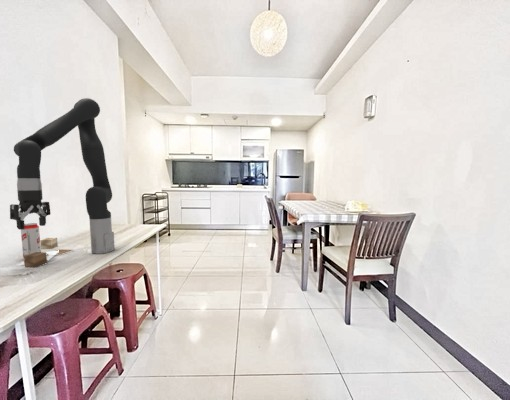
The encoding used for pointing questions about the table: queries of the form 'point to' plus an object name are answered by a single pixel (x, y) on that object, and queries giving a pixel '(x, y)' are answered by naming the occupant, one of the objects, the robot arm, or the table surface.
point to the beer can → (30, 239)
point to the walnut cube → (35, 259)
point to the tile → (63, 251)
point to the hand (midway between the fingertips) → (32, 227)
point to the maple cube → (48, 243)
